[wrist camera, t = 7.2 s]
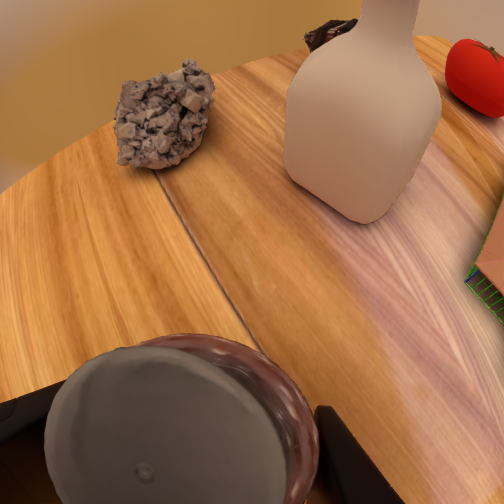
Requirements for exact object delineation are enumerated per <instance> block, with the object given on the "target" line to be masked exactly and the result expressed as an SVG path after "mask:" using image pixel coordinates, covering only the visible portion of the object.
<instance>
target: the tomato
mask: <svg viewBox="0 0 504 504" xmlns="http://www.w3.org/2000/svg"><path fill="white" fill-rule="evenodd" d="M445 79H446V82H447V85H448V87H449V89H450V90H451V92H452V93H453V94H454V95H455V96H456V97H458V98H459V99H460V100H461V101H463V102H464V103H466V104H467V105H468V106H470V107H471V108H473V109H475V110H476V111H478V112H480V113H482V114H485V115H487V116H489V117H495V118H499V117H503V116H504V57H503V56H501V55H500V54H498V53H497V52H496V51H494V48H493V47H491V48H488V47H487V46H485V45H484V44H482V43H481V42H477V41H474V40H471V39H463V40H460V41H458V42H457V43H455V44H454V46H453V47H452V48H451V49H450V52H449V54H448V56H447V61H446V68H445Z"/></svg>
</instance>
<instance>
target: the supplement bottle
mask: <svg viewBox="0 0 504 504" xmlns="http://www.w3.org/2000/svg"><path fill="white" fill-rule="evenodd" d="M318 434H319V432H318V429H317V426H316V423H315V420H314V417H313V414H312V411H311V409H310V407H309V405H308V403H307V401H306V399H305V397H304V396H303V394H302V393H301V391H300V390H299V388H298V387H297V385H296V384H295V382H294V381H293V380H292V379H291V378H290V377H289V376H288V375H287V374H286V373H285V372H284V370H282V369H281V368H280V367H279V366H278V365H277V364H275V363H274V362H273V361H271V360H270V359H269V358H267V357H265V356H264V355H262V354H261V353H259V352H257V351H255V350H253V349H251V348H250V347H248V346H245V345H243V344H241V343H238V342H236V341H233V340H228V339H225V338H222V337H218V336H211V335H205V334H183V333H181V334H174V335H167V336H161V337H157V338H155V339H151V340H147V341H143V342H141V343H139V344H137V345H135V346H132V347H127V348H126V347H120V348H116V349H114V350H113V351H110V352H107V353H103V354H101V355H99V356H97V357H95V358H93V359H91V360H89V361H87V362H85V363H84V364H83V365H82V366H81V367H80V368H78V369H77V370H76V371H75V372H74V373H72V374H71V375H70V376H69V377H68V379H67V380H66V381H65V383H64V384H63V386H62V387H61V388H60V389H59V391H58V392H57V394H56V395H55V398H54V400H53V403H52V406H51V409H50V411H49V413H48V417H47V422H46V428H45V433H44V438H45V442H44V450H45V456H46V464H47V468H48V473H49V475H50V477H51V479H52V481H53V484H54V487H55V490H56V492H57V494H58V496H59V498H60V499H61V501H62V503H63V504H304V502H305V500H306V498H307V496H308V494H309V492H310V491H311V488H312V486H313V484H314V481H315V478H316V475H317V469H318V466H319V449H320V448H319V440H318V439H319V437H318Z"/></svg>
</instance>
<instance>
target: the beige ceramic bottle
mask: <svg viewBox="0 0 504 504" xmlns="http://www.w3.org/2000/svg"><path fill="white" fill-rule="evenodd" d="M419 2H420V0H363V5H362V12H361V17H360V19H359V20H358V22H357V24H356V26H355V27H354V28H353V29H351V30H350V31H349V32H347V33H344V34H342V35H339V36H337V37H335V38H333V39H332V40H330V41H329V42H327V43H325V44H324V45H322V46H321V47H319V48H317V49H316V50H314V51H313V52H312V53H311V54H310V55H309V56H308V58H307V59H306V60H305V61H304V62H303V64H302V65H301V67H300V69H299V70H298V72H297V73H296V75H295V77H294V78H293V80H292V82H291V84H290V86H289V88H288V91H287V105H286V123H285V140H284V156H283V163H284V167H285V169H286V171H287V173H288V174H289V176H290V177H291V179H292V180H293V181H295V182H296V183H298V184H299V185H301V186H302V187H304V188H305V189H307V190H308V191H310V192H311V193H312V194H314V195H315V196H317V197H318V198H320V199H321V200H323V201H324V202H326V203H327V204H328V205H330V206H331V207H333V208H334V209H335V210H337V211H338V212H340V213H341V214H342V215H344V216H345V217H347V218H348V219H349V220H352V221H356V222H359V223H362V224H368V223H370V222H373V221H376V220H378V219H379V218H381V217H382V216H383V215H384V214H385V213H386V212H387V210H388V209H389V208H390V206H391V205H392V204H393V202H394V201H395V200H396V198H397V197H398V196H399V194H400V193H401V192H402V190H403V189H404V188H405V186H406V185H407V183H408V182H409V181H410V179H411V178H412V176H413V174H414V172H415V170H416V168H417V166H418V164H419V162H420V160H421V158H422V156H423V154H424V152H425V150H426V148H427V146H428V144H429V142H430V140H431V138H432V135H433V133H434V131H435V129H436V127H437V124H438V122H439V120H440V118H441V111H442V108H441V97H440V93H439V89H438V87H437V85H436V83H435V81H434V79H433V77H432V75H431V73H430V71H429V70H428V68H427V67H426V65H425V64H424V62H423V61H422V60H421V58H420V57H419V56H418V54H417V51H416V48H415V45H414V40H413V28H414V24H415V20H416V16H417V11H418V6H419Z"/></svg>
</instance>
